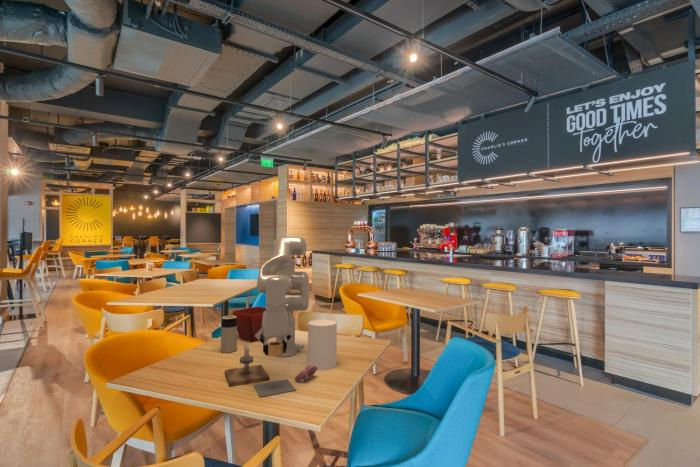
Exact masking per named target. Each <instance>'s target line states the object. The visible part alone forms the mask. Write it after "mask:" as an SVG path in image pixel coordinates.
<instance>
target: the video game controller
mask: <svg viewBox="0 0 700 467" xmlns="http://www.w3.org/2000/svg"><path fill="white" fill-rule="evenodd" d="M317 369H318V368H317V367H316V366H314V365H309V366H308V365H307V366H305V368H303V369H302V370H301V371H300V372H299V373H297V375H295V376H294V381H295V382H296V383H297V382H298V383H299V382H301V381H304V382H305V381H307V380H308V379H311V378H312V377H313V375H315V373H316V372H317V371H318V370H317Z"/></svg>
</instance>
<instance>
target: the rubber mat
mask: <svg viewBox="0 0 700 467" xmlns="http://www.w3.org/2000/svg"><path fill="white" fill-rule="evenodd" d="M253 387H254V389H255V391H256V392H257V394H258V397H259V398H264V397H270V396H275V395H280V394H281V395H282V394H286V393H290V392H291V393H292V392H296V391H297V388H295V387H294V385H293V384H292V383H291V381H290V380H289V379H288V378H285V379H280V380H273V381H268V382H263V383H261V382H260V383H254V384H253Z"/></svg>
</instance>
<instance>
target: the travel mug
mask: <svg viewBox="0 0 700 467" xmlns="http://www.w3.org/2000/svg"><path fill="white" fill-rule="evenodd" d="M236 318H237V316H233V315H224V316H221V319H222V322H221V325H220V327H221V328H220V330H221V331H220V332H221V334H220V352H221V353H223V352H224V353H223V354H225V353H226V354H229V353H234V352H236V351H237V349H238V332H237V321H236Z"/></svg>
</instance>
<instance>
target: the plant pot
mask: <svg viewBox="0 0 700 467" xmlns="http://www.w3.org/2000/svg"><path fill="white" fill-rule="evenodd" d="M264 311H266V307H265V306H262V307H261V306H253V307H247V308H240V309H236V310H232V316H237V318H236V321H237V336H238V337H239V339H240V340H243V341H247V342H250V343H255V342H258V341H259V340H258V339H257V338H256V337H255V335H256V333H257V332H258V331H259V330H260V329H261V328H262V318H263V313H264ZM260 337H261V338H262V339H264V336H263V335H262V334H261V335H260Z"/></svg>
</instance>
